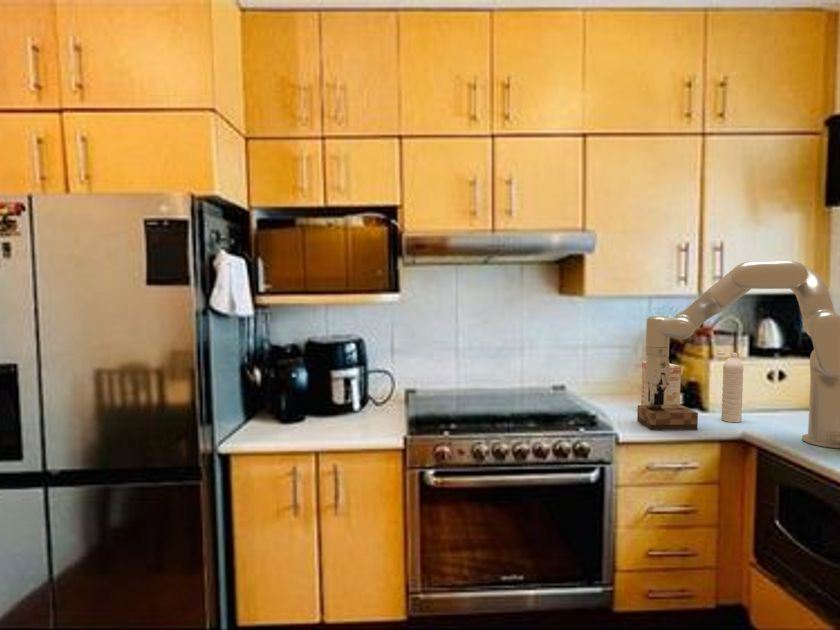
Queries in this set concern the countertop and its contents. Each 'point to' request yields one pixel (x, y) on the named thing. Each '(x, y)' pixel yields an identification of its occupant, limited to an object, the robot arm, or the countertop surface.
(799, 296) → the robot arm
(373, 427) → the countertop surface
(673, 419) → the walnut block
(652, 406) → the steel pin
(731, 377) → the water bottle
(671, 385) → the coffeecake box
